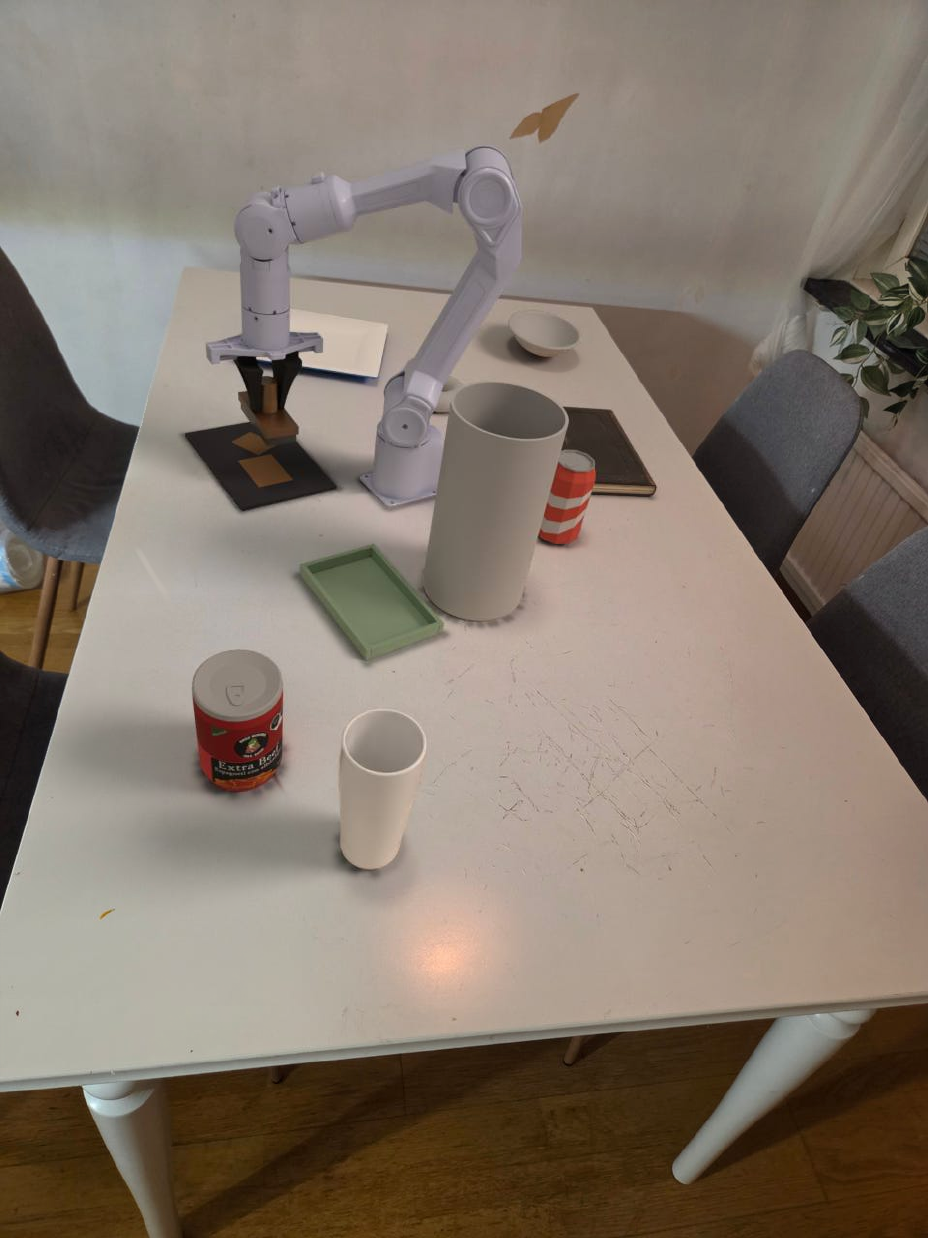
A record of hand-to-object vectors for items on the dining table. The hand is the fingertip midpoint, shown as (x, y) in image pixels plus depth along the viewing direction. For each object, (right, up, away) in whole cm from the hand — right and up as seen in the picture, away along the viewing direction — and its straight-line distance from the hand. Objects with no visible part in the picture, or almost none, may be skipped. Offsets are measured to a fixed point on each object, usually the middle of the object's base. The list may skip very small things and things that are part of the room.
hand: (267, 407), depth 105 cm
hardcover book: (+46, -1, +25) cm, 52 cm away
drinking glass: (+17, -48, -33) cm, 61 cm away
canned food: (+5, -41, -29) cm, 51 cm away
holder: (+15, -26, -10) cm, 32 cm away
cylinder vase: (+27, -24, -5) cm, 37 cm away
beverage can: (+39, -16, +7) cm, 42 cm away
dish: (+41, +24, +51) cm, 70 cm away
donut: (+21, +9, +30) cm, 38 cm away
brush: (0, -2, +2) cm, 3 cm away
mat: (-3, -6, +8) cm, 11 cm away
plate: (0, +20, +38) cm, 43 cm away
